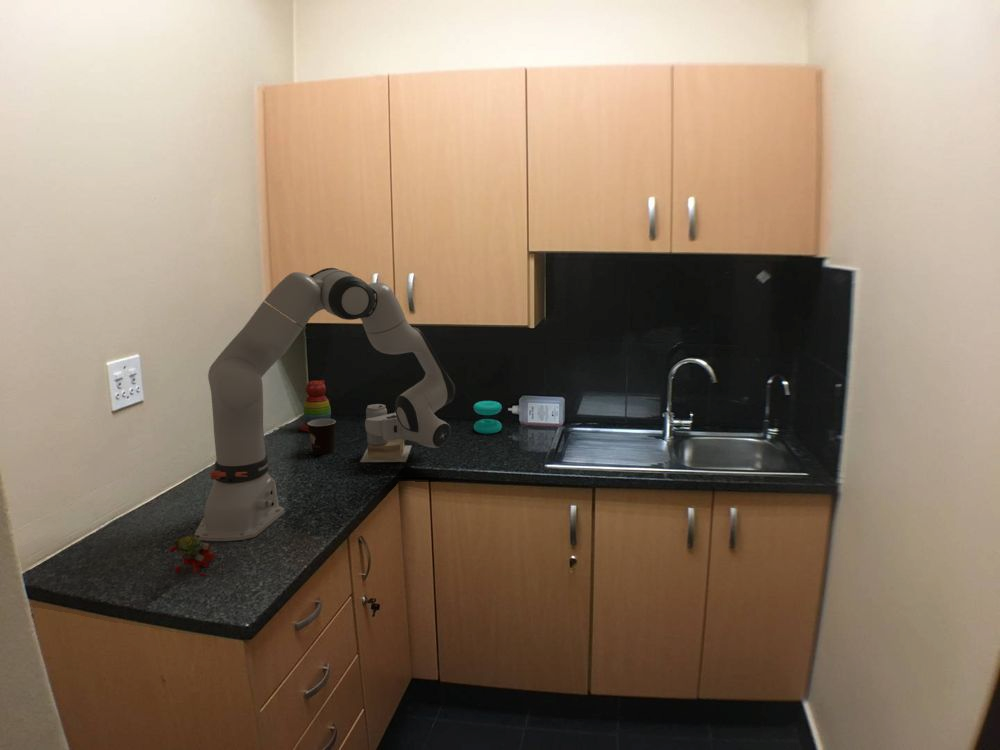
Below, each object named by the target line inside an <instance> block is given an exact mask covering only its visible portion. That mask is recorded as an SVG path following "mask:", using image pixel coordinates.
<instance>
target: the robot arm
mask: <svg viewBox="0 0 1000 750" xmlns="http://www.w3.org/2000/svg"><path fill="white" fill-rule="evenodd" d="M322 310H325V312H327V313H329V314H331V315H333V316H335V317H338V318H340V319H342V320H348V321H349V320H351V321H353V320H360V321H361V322H362V326H363V328H364V331H365V333H366V336H367V339H368V341H369V343H370V344H371V345H372V347H373V348H374V349H375V350H376V351H378V352H380V353H382V354H385V355H401V354H407V353H413V354H414V355H415V357H416V359H417V360H418V363H419V365H420V366H421V368H422V369H423V371H424V372H425V374H424V377H423V379H421V380H420V381H419V382H417V383H416V384H414V385H413V386H412V387H409V388H408V389H407V390H405V391H404V392H402V393H401V394H400V395H398V396H397V397H396V399H395V409H394V412H392V413H387V415H382V416H377V417H373V418H368V419H365V420H364V428H365V431H366V433H367V432H369V433H371V434H374V435H376V436H381V437H383V439H384V440H397V439H401V440H404V441H407V440H408V441H410V442H415V443H417V444H418V445H421V446H424V447H428V448H433V449H434V448H435V449H436V448H437V449H438V448H441V447H443V446H444V445H445V444H446V443H447V442H448V441H449V440H450V437H451V435H452V427H451V425H450V424H449V423H447V422H446V421H445V420H443V419H441V418H438V416H436V415H435V413H436V412H437V411H438V410H439V409H441V408H444V407H445V406H447V405H449V404H450V403H452V402H453V401H454V399H455V396H456V395H455V394H456V385H455V383H454V381H453V380H452V378H451V377H450V376H449V374H448V372H446V370H445V369H444V367H443V365H442V363H441V361H440V360H439V358H438V356H437V354H436V352H435V351H434V349H433V347H432V345H431V344H430V342H429V340H428V339H427V337H426V336H425V334H424V333H423V332H422V331H421V330H420V328H418V327H416V326H411V325H410V324H409V322H408V321H407V319H406V316H405V313H404V311H403V309H402V306H401V304H400V302H399V299H398V297H396V294H395V292H394V291H393V290H392V287H390V286H389V285H388V284H387V283H383V282H373V283H369V284H368V283H367V282H366V281H364V280H363V279H361V278H359V277H357V276H355V275H354V274H352V273H351V272H348V271H345V270H343V269H339V268H335V267H329V268H323V269H320V270H319V271H317V272H315V273H313V274H310V275H308V274H306V273H303V272H300V271H299V272H298V271H295V272H291V273H289V274H288V275H287V276H285V277H284V278H283V279H282V280H281V281H279V283H278V284H277V285H276V286H275V287H274V288H273V289H272V290H271V291H270V292H269V294H268V295H267V296H266V297H265V299H264V300H263V301H262V303H261V304H259V307H258V308H257V309H256V310H255V312H254V313H253V315H252V316H251V317H250V319H249V320H248V321H247V322H246V324H245V325H244V326H243V327H242V329H241V330H240V331H239V332H238V333H237V334H236V336H235V337H233V339H232V340H231V341H230V342H229V343H228V344H227V346H226V347H225V348H224V349H223V351H221V353H220V354H219V355H218V357H217V358H215V360H214V362H212V363H211V365H210V367H209V370H208V374H207V376H208V377H207V379H208V384H209V388H210V395H211V396H210V397H211V407H212V420H213V421H212V422H213V423H212V424H213V437H214V438H213V439H214V447H215V448H214V449H215V458H216V460H215V462H214V468H213V470H211V471H210V474H209V475H210V476H209V477H210V479H211V480H213V484H212V486H211V489H210V492H209V494H208V498H207V501H206V503H205V506H204V512H203V515H204V516H203V517H202V519H201V520H200V522H199V523H200V524H199V525H198V527H197V528H196V530H195V533H194V536H196V535H199V536H200V537H199V539H200V540H201V541H207V542H233V541H243V540H249V539H252V538H255V537H257V536H258V535H260V534H261V533H262V532H263V531H264V530H266V529H267V528H268V527H269V526H270V525H272V524H273V523H274V522H275V521H276V520H278V519H279V518H280V517H282V515H284V514H285V513H286V512H285V511H286V510H285V507H284V506H283V507H282V506H280V505H279V498H278V492H277V485H276V480H275V479H274V478H273V477H272V476H271V475H270V474H269V472H268V471H269V460H268V455H267V454H266V446H265V435H264V434H265V433H264V387H263V380H262V379H263V377H264V376H265V374H266V373H267V372H268V371H269V370H270V369H271V367H272V366H274V364H275V363H277V362H278V360H280V359H281V357H283V356H285V354H286V353H287V351H288V350H289V349H290V348H291V346H292V345H293V343H294V341H296V340H297V337H298V336H299V335H300V334H301V333H302V331H303V330H304V328H305V327H306V325H307V323H308V322H309V321H310V320H311V318H312V317H313V316H314V315H316V313H318V312H320V311H322Z"/></svg>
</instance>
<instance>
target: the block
mask: <svg viewBox="0 0 1000 750" xmlns="http://www.w3.org/2000/svg"><path fill="white" fill-rule="evenodd" d="M404 446H405V440H401V439H397V440H388V442H387V443H386V444H384V445H380V446H373V445H370V444H369V443H368V444H367V448H368V459H395V458H401V456H402V454H403V451H404V449H405V447H404Z"/></svg>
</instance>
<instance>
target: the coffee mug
mask: <svg viewBox="0 0 1000 750" xmlns="http://www.w3.org/2000/svg"><path fill="white" fill-rule="evenodd" d="M336 423H337V422H336V420H335V419H332V418H330V419H317V420H312V421H310V422H308V423H307V424H308V430H309V432H308V433H309V437H310V438H309V439H310V445H311V449H312V450H311V451H312V454H313V455H314V454H315V455H314V456H316V455H322V456H323V455H329V454H330V455H331V454H333V453H334V452H335V440H336V439H335V438H336V425H337V424H336Z"/></svg>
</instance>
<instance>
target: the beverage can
mask: <svg viewBox="0 0 1000 750" xmlns="http://www.w3.org/2000/svg"><path fill="white" fill-rule="evenodd" d="M366 406H367V407H366V409H365V418H366V419H368V418H373V417H377V416H382V415H387V414H388V409H387V408H386V404H381V403H375V404H369V405H366ZM366 419H365V420H366ZM366 435H367V437H366V439H367V444H368V445H369V444H370V445H373V446H380V445H384V444H386V443H387V442H388V440H384V439H383V437H381V436H376V435H374V434H371V433H369V432H367V431H366Z"/></svg>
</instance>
